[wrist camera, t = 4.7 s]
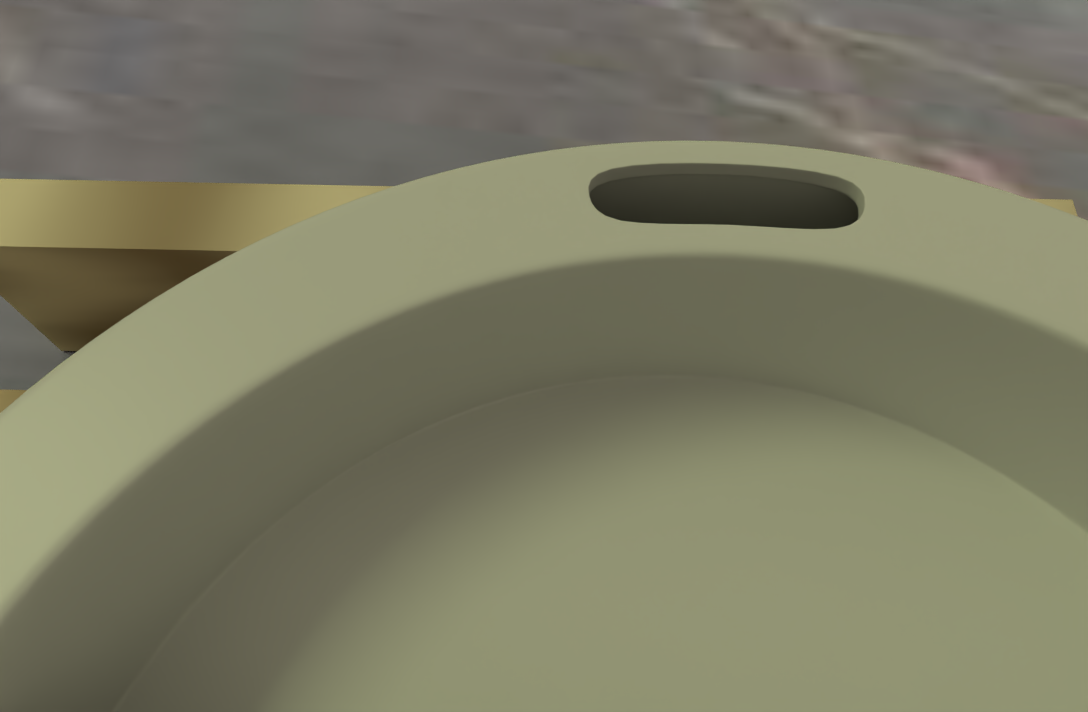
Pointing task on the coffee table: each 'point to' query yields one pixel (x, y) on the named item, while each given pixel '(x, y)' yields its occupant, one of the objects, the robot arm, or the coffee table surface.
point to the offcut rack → (140, 241)
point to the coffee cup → (576, 453)
